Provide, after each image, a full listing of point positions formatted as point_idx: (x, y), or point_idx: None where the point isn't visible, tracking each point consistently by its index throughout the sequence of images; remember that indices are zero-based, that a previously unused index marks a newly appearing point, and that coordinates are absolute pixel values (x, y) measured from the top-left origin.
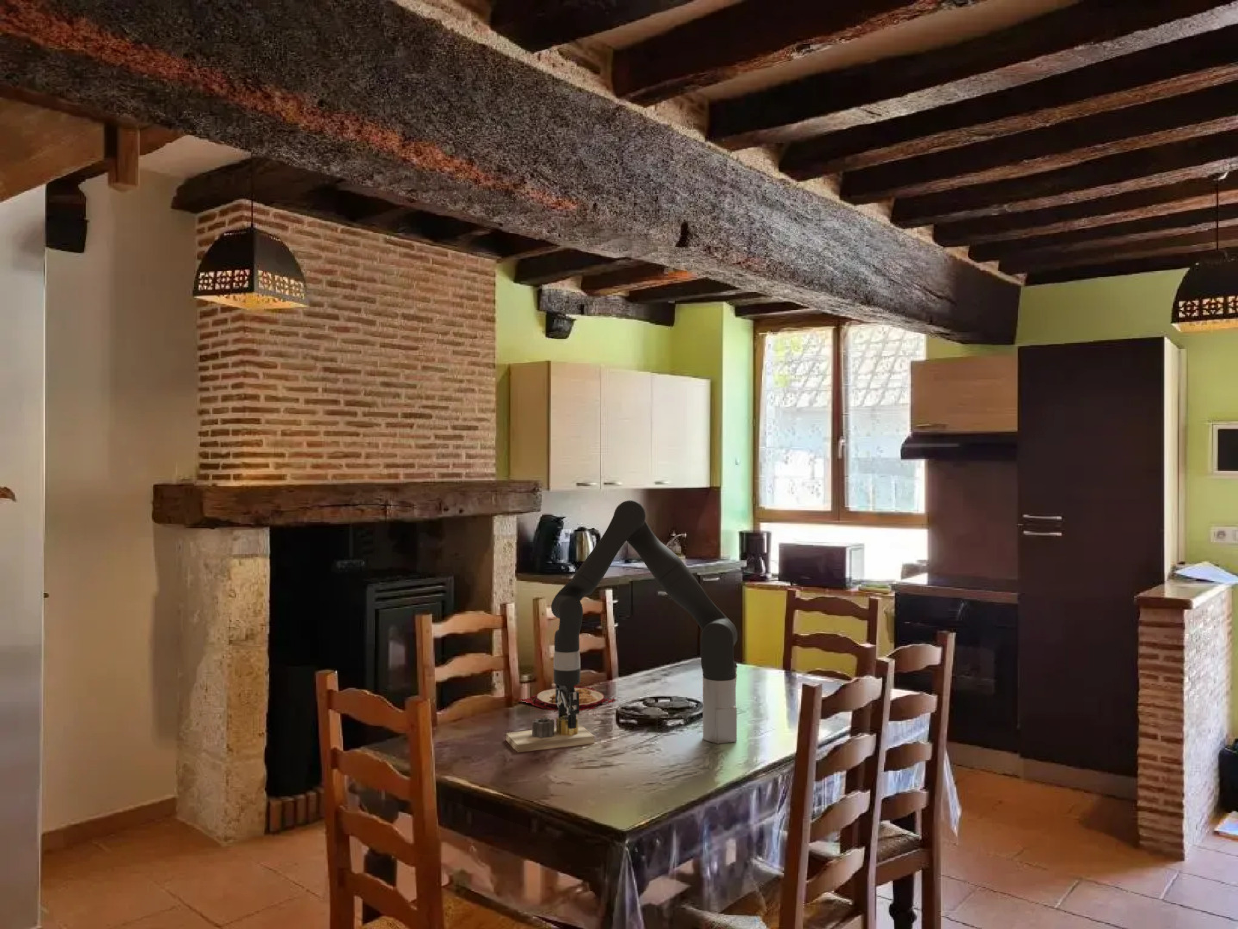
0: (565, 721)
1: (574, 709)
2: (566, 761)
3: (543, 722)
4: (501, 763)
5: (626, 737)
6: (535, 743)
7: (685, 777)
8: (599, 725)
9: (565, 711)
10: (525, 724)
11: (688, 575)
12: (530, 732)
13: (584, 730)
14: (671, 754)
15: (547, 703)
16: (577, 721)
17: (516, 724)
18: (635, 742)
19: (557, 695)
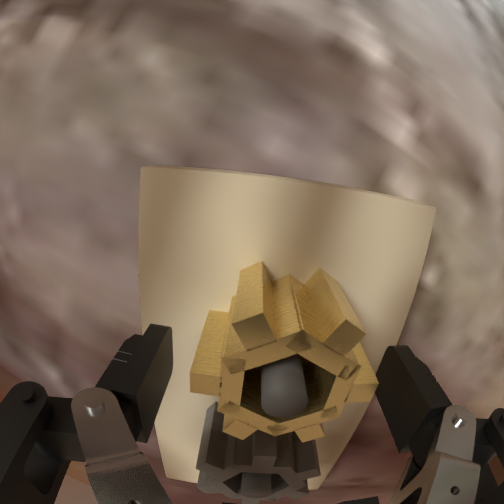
0: (337, 412)
1: (452, 450)
2: (479, 380)
3: (287, 489)
4: (364, 490)
5: (389, 3)
6: (337, 458)
7: None
8: (102, 28)
9: (148, 376)
10: (8, 336)
11: None
12: (190, 442)
13: (293, 203)
14: None
15: None
16: (359, 323)
17: (9, 357)
18: (468, 33)
19: (50, 501)
